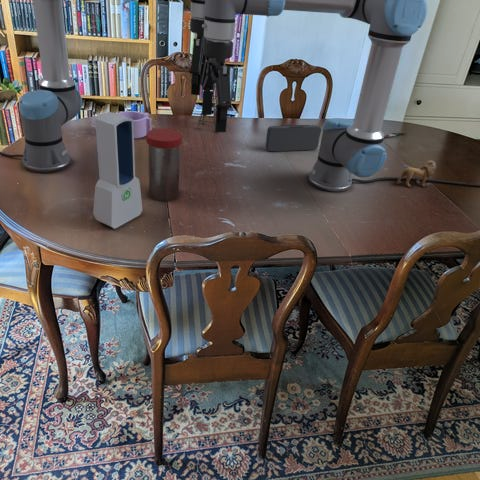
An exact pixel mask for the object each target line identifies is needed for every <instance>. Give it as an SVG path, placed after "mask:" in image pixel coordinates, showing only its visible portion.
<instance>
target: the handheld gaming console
mask: <svg viewBox="0 0 480 480" xmlns="http://www.w3.org/2000/svg"><path fill="white" fill-rule="evenodd" d="M321 133H322V127H321V126H319V125H318V124H292V125H291V124H290V125H289V124H286V125H285V124H284V125H283V124H281V125H270V126H268V127H267V130H266V139H265V145H264V146H265V150H267V151H268V152H289V151H290V152H292V151H294V152H295V151H312V150H317V148H318V147H319V145H320V137H321Z"/></svg>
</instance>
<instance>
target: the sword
mask: <svg viewBox="0 0 480 480" xmlns="http://www.w3.org/2000/svg"><path fill="white" fill-rule="evenodd" d="M406 134H408V132H407V133H403V134H401V133H400V132H392V133H389V134H387V135H384V139H386V138H391V137H397V136H399V135H406Z"/></svg>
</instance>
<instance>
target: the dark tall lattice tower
mask: <svg viewBox="0 0 480 480" xmlns="http://www.w3.org/2000/svg"><path fill="white" fill-rule="evenodd" d="M202 64H203V63H202ZM213 86H214V90H212V91H213V101H212V112H213V116H212V115H202V112H201V113H200V114H199V115H200V117H199V119H198V124H197V128H196V129H197V130H199V129H200V126H201V123H202V124H204V123H208V124H213V126H214V127H213V128H214V130H215V126H216V110H217V108H216V105H218V100H217V93H216V86H215V83H214V85H213ZM206 117H207V118H213V121H208V120H205V118H206Z"/></svg>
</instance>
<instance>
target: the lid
mask: <svg viewBox="0 0 480 480" xmlns="http://www.w3.org/2000/svg"><path fill="white" fill-rule="evenodd" d="M145 141H146V144H147V145H148V146H149V145H150V146H152V147H155V148H162V149H170V148H176V147H178V146H180V147H181V145H182V143H183V134H182V133H181V132H179V131H178V130H176V129H171V128H162V127H161V128H154V129H152V130H150V131H148V132H147V134H146V136H145Z"/></svg>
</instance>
